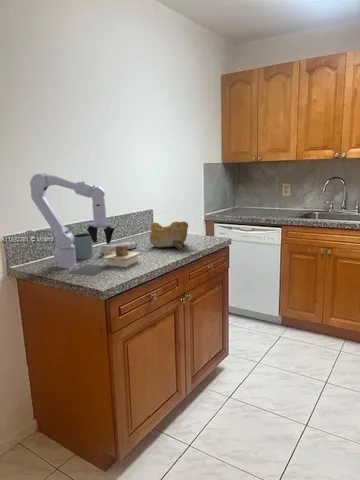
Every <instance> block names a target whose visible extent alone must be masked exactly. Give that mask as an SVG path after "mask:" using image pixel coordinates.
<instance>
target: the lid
mask: <svg viewBox="0 0 360 480" xmlns="http://www.w3.org/2000/svg"><path fill="white" fill-rule="evenodd" d="M119 244H120V243H119ZM115 247H116V250H115V251H114V252H111V254H109V255H107V256H104V257H101V258H102V259H105V260H108V259H114V260H125V261H127V260H129V259H131V258H133V257H136V256H137V257H138V256H140V255H142V252H139V251H129V249H128V245H123V244H120V245H117V246H115Z"/></svg>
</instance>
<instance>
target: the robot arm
mask: <svg viewBox="0 0 360 480" xmlns="http://www.w3.org/2000/svg"><path fill="white" fill-rule="evenodd" d="M29 185H30V186H29V187H30V196H31V199H32V201H33V203H34V204H35V205H36V206H35V207H37V209H38V211H39V212H40V214H41V215H42V216H43V217H44V219H45V221H46V223H47V224H48V225H49V226H50V228H51V230H52V231H53V235H54V238H55V239H56V240H55V241H56V244H57V246H58V247H56V248H55V249H54V252H53V261H54V265H53V267H54V268H63V269H71V268H74V267H77V266H78V265H81V263H79V262H77V259H76V255H75V246H74V245H73V242H74V240H75V237H74V235H75V234H73V233H72V232H71V231H70V230H68V228H67V227H66V226H64V224H63V222H61V219H60V218H59V216H58V215H57V214H56V212H55V210H54V209H53V207H52V206H51V204H50V203H49V201H48V200H47V198H46V196H45V195H46V192H47V191H48V190H47V189H48V188H49V186H58V187H63V188H65V189H70V190H73V192H75V194H76V195H78V196H83V197H86V198H91V199H92V217H93V222H86V224H85V225H86V230H87V233H90V235H91V238H92V244H96V243H98V228H100V229H101V228H103V231H104V232H103V233H104V234H105V242H106V245H110V244H111V241H112V237H113V233H114V231H115V228H116V225H115V223H112V222H107V212H106V211H107V209H106V203H105V202H106V200H105V195H106V194H105V193H106V192H105V190H104V188H102V187H100V186H96V184H92V185H91V184H89V183H86V181H83V180H82V181H77V182H74V181H70V180H68V179H65V178H63V177H59V176H56V175H52V174H47V173H36V174H34V175H32V177H31V180H30V182H29ZM56 266H57V267H56Z"/></svg>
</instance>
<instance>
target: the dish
mask: <svg viewBox="0 0 360 480" xmlns="http://www.w3.org/2000/svg"><path fill="white" fill-rule="evenodd" d="M138 258H139V257H138V256H136V257H133V258H131V259H129V260H127V261H125V260H114V259H107V266H110V267H112V266H113V267H123V268H124V267H125V268H127V267H129V266H132V265H134V264H135V263H137V262H138V261H139V259H138Z"/></svg>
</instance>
